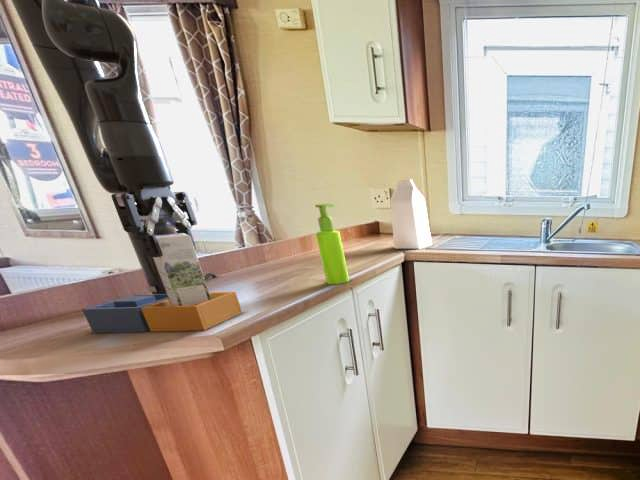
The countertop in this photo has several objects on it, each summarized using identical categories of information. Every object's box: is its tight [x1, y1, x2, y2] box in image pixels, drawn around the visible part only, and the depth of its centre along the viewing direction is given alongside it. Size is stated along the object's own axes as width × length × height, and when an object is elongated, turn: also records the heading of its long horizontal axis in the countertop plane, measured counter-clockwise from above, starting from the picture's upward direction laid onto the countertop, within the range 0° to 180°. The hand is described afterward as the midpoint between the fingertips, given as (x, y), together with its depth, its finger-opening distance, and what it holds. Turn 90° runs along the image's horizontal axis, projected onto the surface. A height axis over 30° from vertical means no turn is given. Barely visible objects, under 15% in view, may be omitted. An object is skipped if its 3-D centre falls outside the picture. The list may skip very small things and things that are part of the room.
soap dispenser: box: [314, 203, 350, 285], centre depth 113 cm, size 6×7×20 cm
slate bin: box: [81, 293, 168, 334], centre depth 84 cm, size 12×11×5 cm
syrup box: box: [153, 232, 211, 306], centre depth 81 cm, size 6×6×14 cm
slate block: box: [113, 295, 156, 308], centre depth 84 cm, size 4×4×4 cm
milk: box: [389, 179, 433, 250], centre depth 177 cm, size 12×12×26 cm
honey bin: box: [141, 291, 243, 332], centre depth 84 cm, size 12×11×5 cm
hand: (173, 253), depth 79 cm, fingers closed on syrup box, 8 cm apart
